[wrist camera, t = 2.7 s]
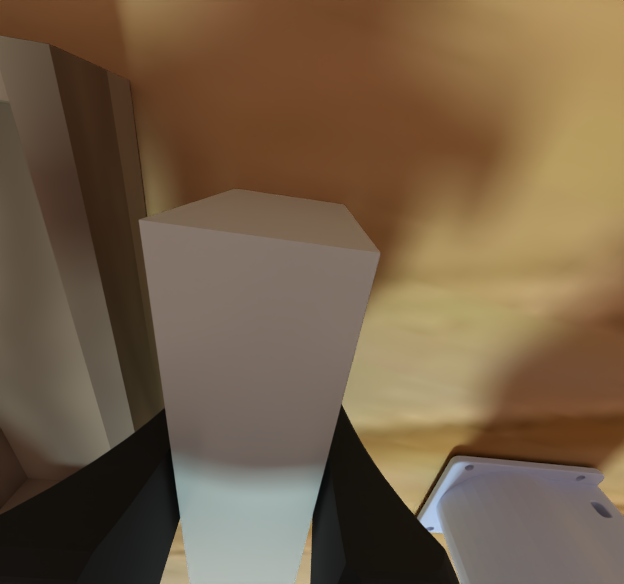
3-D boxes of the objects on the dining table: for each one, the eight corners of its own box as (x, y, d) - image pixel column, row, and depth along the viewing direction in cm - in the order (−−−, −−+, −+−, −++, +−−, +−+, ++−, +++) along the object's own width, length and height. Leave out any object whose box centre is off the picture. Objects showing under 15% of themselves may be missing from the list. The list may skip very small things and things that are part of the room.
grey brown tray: (129, 80, 8) (48, 43, 6) (180, 483, 17) (158, 537, 15) (-205, 24, 8) (-457, -43, 5) (29, 471, 17) (-21, 524, 14)
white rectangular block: (343, 204, 10) (380, 253, 5) (295, 466, 17) (287, 610, 11) (235, 188, 10) (139, 220, 4) (231, 461, 17) (192, 605, 11)
